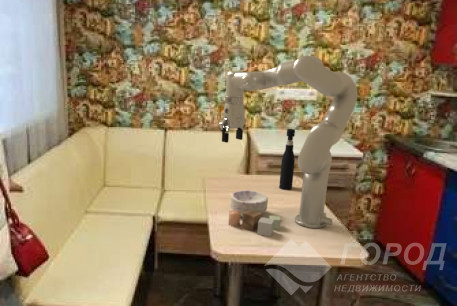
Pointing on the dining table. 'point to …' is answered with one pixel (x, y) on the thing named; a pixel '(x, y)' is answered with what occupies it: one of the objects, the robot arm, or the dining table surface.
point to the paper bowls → (248, 201)
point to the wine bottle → (287, 163)
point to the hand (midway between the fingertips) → (232, 140)
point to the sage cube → (276, 221)
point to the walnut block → (251, 220)
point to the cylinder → (234, 218)
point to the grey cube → (265, 226)
